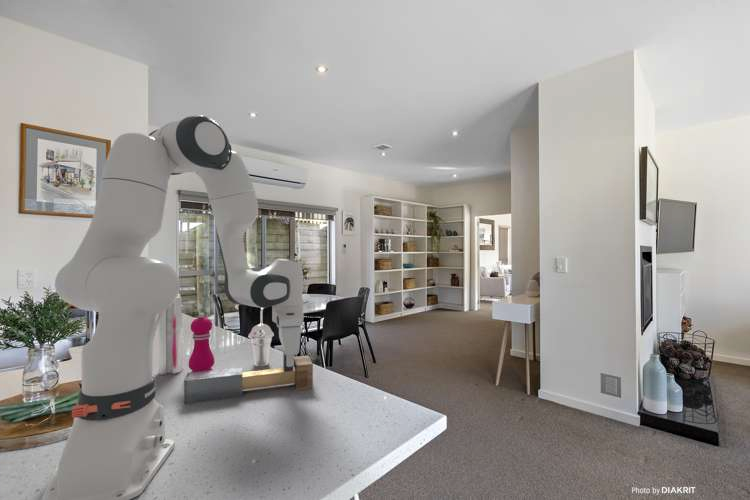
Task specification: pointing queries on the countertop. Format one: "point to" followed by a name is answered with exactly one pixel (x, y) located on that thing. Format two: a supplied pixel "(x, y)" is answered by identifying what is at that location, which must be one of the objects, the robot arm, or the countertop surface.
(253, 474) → the countertop surface
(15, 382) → the countertop surface
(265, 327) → the cup with straw
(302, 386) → the socket block
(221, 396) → the sleeve
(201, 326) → the pepper mill
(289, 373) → the gold post block
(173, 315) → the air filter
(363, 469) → the countertop surface
